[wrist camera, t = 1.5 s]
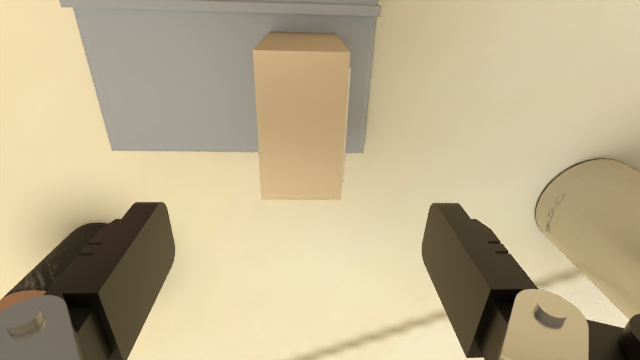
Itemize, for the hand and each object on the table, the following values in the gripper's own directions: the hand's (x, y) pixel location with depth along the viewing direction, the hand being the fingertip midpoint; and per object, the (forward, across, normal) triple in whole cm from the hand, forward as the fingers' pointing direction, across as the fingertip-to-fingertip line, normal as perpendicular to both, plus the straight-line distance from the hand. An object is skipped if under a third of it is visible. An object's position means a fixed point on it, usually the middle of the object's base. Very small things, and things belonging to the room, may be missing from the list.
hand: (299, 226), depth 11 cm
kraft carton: (+17, 0, 0) cm, 17 cm away
